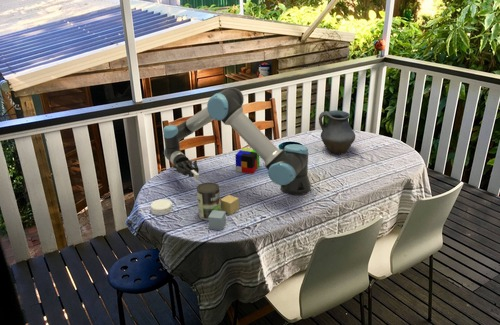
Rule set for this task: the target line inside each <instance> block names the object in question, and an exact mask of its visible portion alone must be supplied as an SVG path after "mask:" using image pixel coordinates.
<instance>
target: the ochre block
mask: <svg viewBox="0 0 500 325" xmlns="http://www.w3.org/2000/svg"><path fill="white" fill-rule="evenodd" d="M239 200H240V198H239V197H236V196H233V195H231V194H227V195H226V196H224V197H222V198H220V208H221V211H226V214H229V215H233V214H234V213H236V212H237V211H239V210H240V201H239Z"/></svg>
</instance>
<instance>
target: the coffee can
mask: <svg viewBox="0 0 500 325" xmlns="http://www.w3.org/2000/svg"><path fill="white" fill-rule="evenodd" d="M220 190H221V188H220V185H219V184H218V183H217V182H213V181H212V182H210V181H209V182H208V181H207V182H203V183H200V184H198V185H197V186H196V195H197V206H198V217H199V219H202V220H205V221H209V220H208V217H209V215H210V213H211V212H212V210H217V211H221V203H220V200H221V195H220Z"/></svg>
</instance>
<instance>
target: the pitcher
mask: <svg viewBox="0 0 500 325" xmlns="http://www.w3.org/2000/svg"><path fill="white" fill-rule="evenodd" d="M324 117H327V123H326V125H325V124H324V123H323V118H324ZM350 117H351V114H350V113H349V112H347V111H343V110H336V109H335V110H334V109H333V110H329V111H327V110H325V111H322V112H321V113H320V114H319V116H318V124H319V127H320V128H321V133H320V139H321V141H322V142H323V145H324V147H325V148H326V150H327V151H328V153H330V154H331V155H344V154H345V153H347V152H348V150H350V147H351V146H352V144H353V143H354V141H355V140H356V134H355V131H354V130H353V128H352V126H351V124H350V122H349V119H350Z"/></svg>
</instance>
